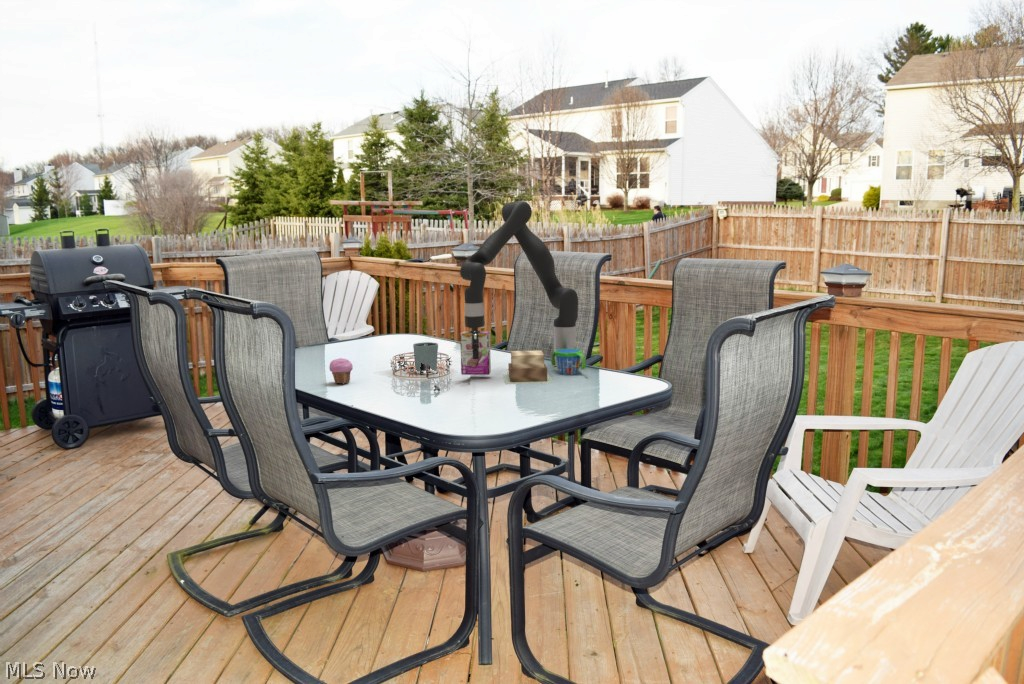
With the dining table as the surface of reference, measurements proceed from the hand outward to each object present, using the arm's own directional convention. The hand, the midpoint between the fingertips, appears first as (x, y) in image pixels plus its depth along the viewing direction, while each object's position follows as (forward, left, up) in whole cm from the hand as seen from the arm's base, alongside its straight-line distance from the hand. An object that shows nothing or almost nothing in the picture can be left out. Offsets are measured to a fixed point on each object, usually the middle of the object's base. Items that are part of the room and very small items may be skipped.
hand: (475, 357), depth 303 cm
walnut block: (-20, +4, -8) cm, 22 cm away
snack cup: (-37, -5, -9) cm, 38 cm away
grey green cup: (+20, -19, -9) cm, 29 cm away
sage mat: (-20, +4, -9) cm, 22 cm away
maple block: (-20, +4, -3) cm, 20 cm away
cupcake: (+52, -2, -9) cm, 53 cm away
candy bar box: (0, 0, -7) cm, 7 cm away
